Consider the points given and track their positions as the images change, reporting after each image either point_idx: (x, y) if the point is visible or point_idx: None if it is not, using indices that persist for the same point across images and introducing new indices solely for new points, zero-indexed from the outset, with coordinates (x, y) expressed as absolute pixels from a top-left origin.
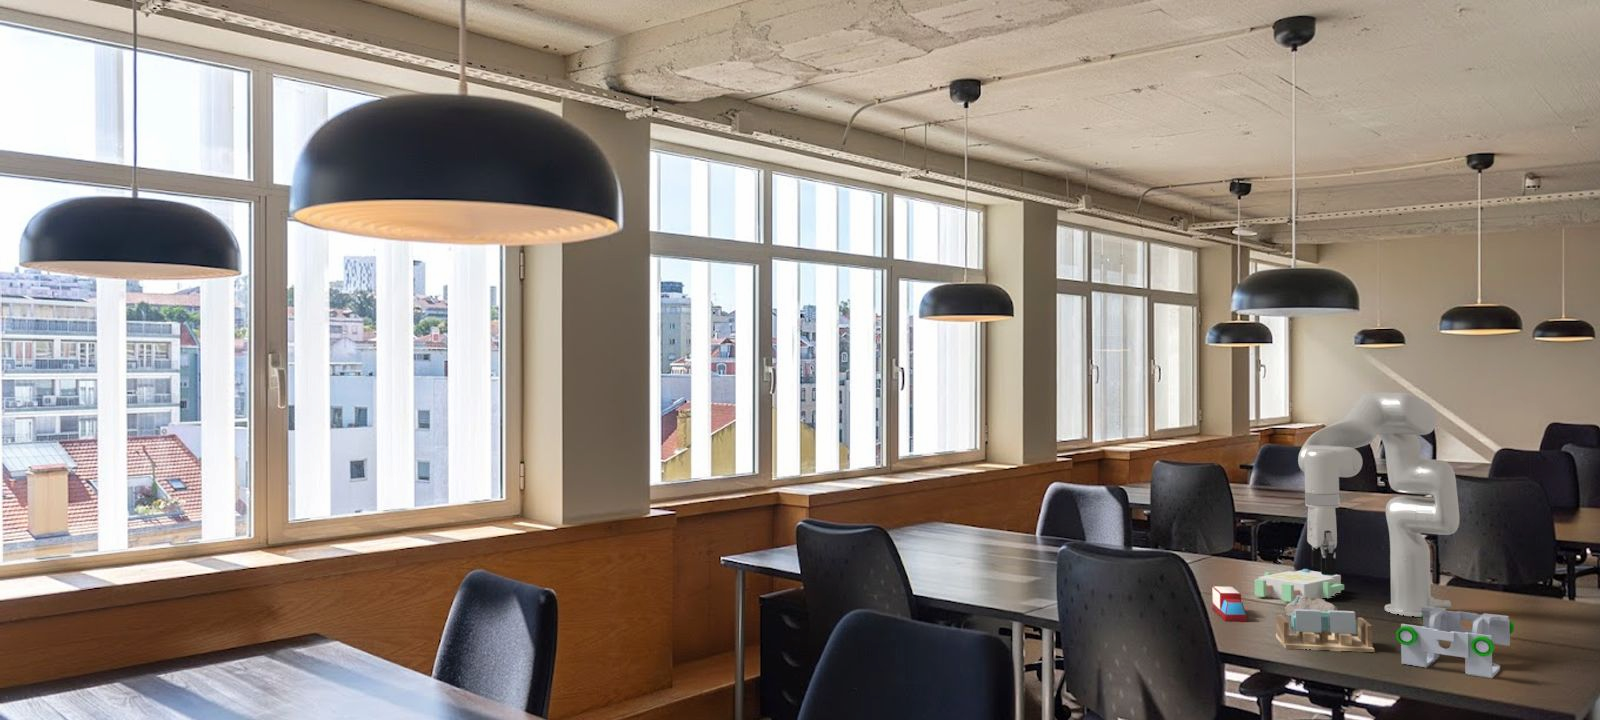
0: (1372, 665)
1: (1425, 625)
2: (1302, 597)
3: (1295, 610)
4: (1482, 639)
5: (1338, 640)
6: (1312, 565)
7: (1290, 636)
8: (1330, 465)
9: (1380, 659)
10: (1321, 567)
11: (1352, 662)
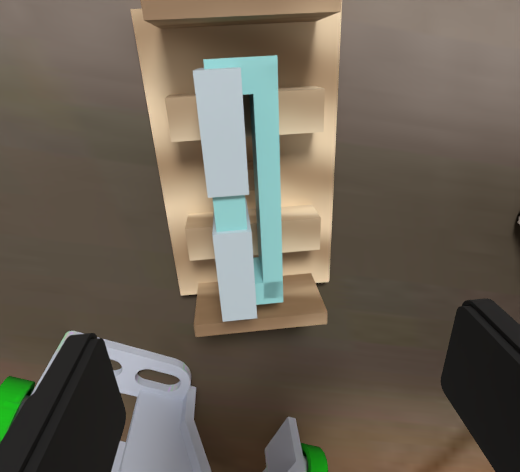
0: (22, 266)
1: (289, 441)
2: None
3: (204, 70)
4: None
5: None
6: (472, 302)
7: (289, 56)
8: None
9: (110, 293)
10: (39, 385)
11: (31, 219)
